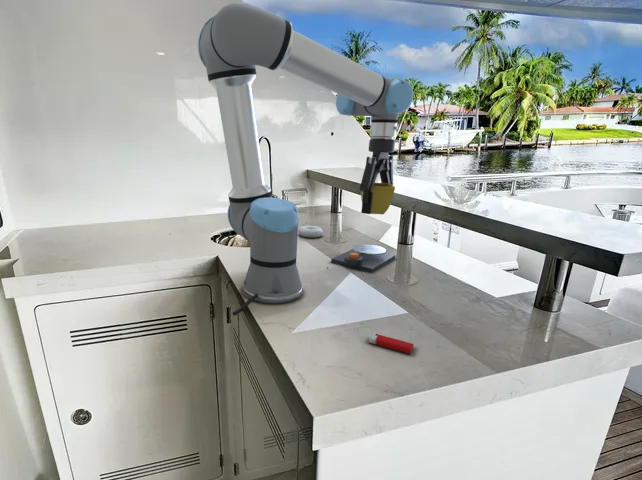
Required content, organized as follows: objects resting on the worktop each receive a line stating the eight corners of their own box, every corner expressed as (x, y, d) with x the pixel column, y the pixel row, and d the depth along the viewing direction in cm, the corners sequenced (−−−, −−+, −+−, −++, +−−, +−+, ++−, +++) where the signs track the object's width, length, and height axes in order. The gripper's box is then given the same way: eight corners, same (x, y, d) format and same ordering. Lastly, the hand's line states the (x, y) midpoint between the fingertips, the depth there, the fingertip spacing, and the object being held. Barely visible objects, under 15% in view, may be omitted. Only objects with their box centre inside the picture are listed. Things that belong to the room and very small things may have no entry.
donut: (308, 231, 160) (292, 235, 153) (308, 223, 159) (293, 226, 152) (327, 236, 154) (312, 240, 147) (328, 227, 153) (313, 231, 146)
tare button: (355, 260, 116) (355, 255, 116) (347, 258, 118) (348, 253, 117) (359, 258, 118) (359, 253, 117) (351, 256, 120) (352, 252, 119)
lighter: (410, 349, 71) (368, 337, 75) (409, 355, 71) (368, 343, 75) (413, 342, 73) (372, 331, 77) (412, 348, 74) (372, 337, 77)
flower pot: (391, 216, 116) (395, 186, 113) (363, 215, 116) (366, 185, 113) (384, 210, 125) (388, 182, 122) (358, 210, 125) (360, 182, 122)
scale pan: (377, 257, 118) (377, 256, 118) (345, 250, 125) (345, 248, 124) (391, 250, 126) (391, 248, 126) (361, 243, 133) (361, 242, 133)
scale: (369, 274, 113) (370, 264, 112) (328, 263, 121) (329, 254, 120) (395, 259, 127) (396, 250, 126) (357, 250, 135) (358, 242, 134)
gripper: (377, 138, 102) (368, 218, 109) (409, 138, 120) (400, 207, 127) (352, 137, 107) (345, 214, 114) (387, 138, 124) (379, 204, 131)
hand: (374, 210), depth 120 cm, fingers closed on flower pot, 11 cm apart
